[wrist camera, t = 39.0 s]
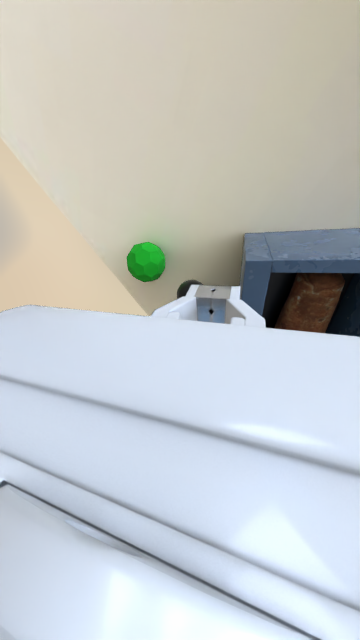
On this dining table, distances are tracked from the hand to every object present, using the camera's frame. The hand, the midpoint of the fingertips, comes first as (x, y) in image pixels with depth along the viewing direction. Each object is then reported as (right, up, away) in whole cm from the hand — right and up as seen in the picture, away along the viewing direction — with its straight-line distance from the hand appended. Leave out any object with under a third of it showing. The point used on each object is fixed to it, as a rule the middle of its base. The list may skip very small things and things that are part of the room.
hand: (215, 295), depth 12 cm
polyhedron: (-6, +8, +15) cm, 17 cm away
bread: (+12, -3, +13) cm, 18 cm away
